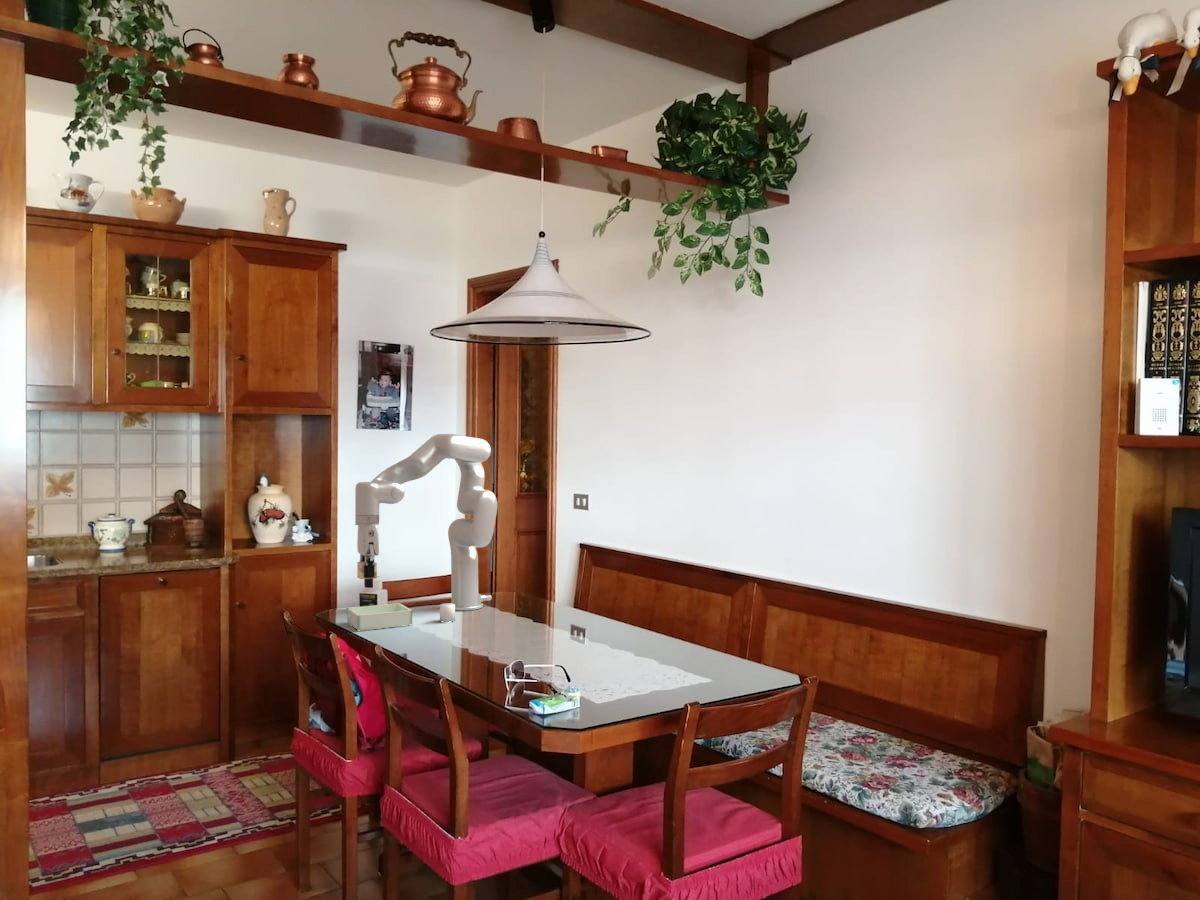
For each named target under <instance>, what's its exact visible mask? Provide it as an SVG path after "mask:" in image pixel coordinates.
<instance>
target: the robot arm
mask: <svg viewBox="0 0 1200 900" xmlns="http://www.w3.org/2000/svg"><path fill="white" fill-rule="evenodd" d="M491 453H492V449H491V445H490V443H488V441H487V440H485V439H484V438H479V437H473V436H468V435H467V436H466V435H461V434H456V433H438V434H435V435H433V436H432V437H430V438H429V439H427V440H426V441H425V442H424V443H423V444H422V445H420V446H419V447H418V448H416V450H415V451H414V452H412V453H411V454H410V455H409V456H408V457H405V458H404V459H402V460H400V461H398V462H396V463H394V464H393V465H390V466H389V467H387V468H386V469H384V470H382V471H381V472H380V473H379V474H378V475H376V476H375V477H374V478H373V479H372V480H370V481H360V482H357V483H356V485H355V492H354V493H355V496H354V497H355V500H354V502H355V503H354V504H355V510H354V511H355V513H354V514H355V517H354V519H355V520H354V522H355V523H354V525H356V526H357V544H356V545H357V546H356V547H357V552H358V554H359V562H363V561H365V565H364V577H365V578H373V577H374V572H375V565H374V564H375V562H376V561H375V557H376V556H377V557H378V556H379V555H380V546H379V545H380V543H379V542H380V539H379V528H378V526H379V525H380V504H388V505H395V504H397V503H400V502H401V501H402V500H403V499H404V497H405V494H406V491H405V488H404V486H403V484H406V483H407V482H410V481H416V480H418V479H421V478H423V477H425V476H427V475H428V474H429V473H430V472H431V471H432V470H433V469H435V467H437V466H438V465H439V464H441V462H443V461H444V460H446V459H448V460H450V459H452V460H453V459H454V461H455V462H456V464H457V466H458V467H459V470H460V480H459V481H460V483H459V488H458V495H457V499H456V500H457V501H456V508H457V510H458V512H460V514H463V515H466V516H473V517H472V518H466V517H465V518H464V517H463V518H458V519H455V520H453V521H452V522H451V523H450V525H449V526H448V529H447V531H448V532H447V536H448V537H447V538H448V541H449V547H450V561H451V562H450V563H451V564H450V568H451V569H450V570H451V574H450V575H451V578H450V579H451V582H450V583H451V590H450V591H451V603H453V604H455V611H474V610H479V609H483V607H484V604H483V603H484V601H485V602H486V601H492V598H493V597H492V595H491V594H487V595H485V594H481V593H479V554H478V550H477V548H485V547H487V546H488V545H489V544H490V543H491V542H492V540H493V536H494V532H495V526H496V518H497V514H498V513H497V512H498V500H497V497H496V495H495V493H494V492H493V491H491V490H489V489H484V488H485V479H486V478H485V477H486V475H485V469H484V466H483V462H486V461H487V460H488V459H489V458H490V456H491Z"/></svg>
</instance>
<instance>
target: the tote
mask: <svg viewBox="0 0 1200 900" xmlns="http://www.w3.org/2000/svg"><path fill="white" fill-rule="evenodd" d="M346 609H347V610H346V611H347V613H346V615H347V617H346V618H347V619H346V621H347V622H348V623H349V624H350V625H352V626H353V627H354V628H356V629H357V630H360V631H359V632H364V631H363V630H368V631H374V629H377V630H383V629H382V628H386V629H389V628H388V627H394V626H402V625H410V624H412V625H413V610H412V609H411V608H409V607H407V606H405V605H404V604H402V603H400V602H397V603H388V604H384V605H373V606H363V607H360V606H353V607H347V608H346ZM348 623H347V624H348ZM349 624H348V625H349ZM350 625H349V626H350ZM352 626H351V627H352ZM353 627H352V628H353ZM354 628H353V629H354ZM357 630H356V631H357Z"/></svg>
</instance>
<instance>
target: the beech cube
mask: <svg viewBox="0 0 1200 900" xmlns="http://www.w3.org/2000/svg"><path fill="white" fill-rule="evenodd" d="M374 562H375V564H374V565H375V572H374V577H373V578H365V577H364V565H365V561H363V562H360V561H357V565H356V566H357V567H356V570H357V571H356V572H357V577H356V578H358V579H360V580H364V579H374V578H377V575H378V574H377V573H378V569H377V567H378V566H377V565H378V563H377V561H374Z"/></svg>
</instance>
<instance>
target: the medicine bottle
mask: <svg viewBox="0 0 1200 900" xmlns="http://www.w3.org/2000/svg"><path fill="white" fill-rule="evenodd" d="M363 580H364V583H363V584H364V590H363V591H359V595H358V596H359V598H358V599H359V600H358V601H359V603H358V604H359V607H363V606H373V605H384V604H389V603H388V590H387V589H385V588H384V589H383V578H382V577H381V576H377V578H374V579H363Z"/></svg>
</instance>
